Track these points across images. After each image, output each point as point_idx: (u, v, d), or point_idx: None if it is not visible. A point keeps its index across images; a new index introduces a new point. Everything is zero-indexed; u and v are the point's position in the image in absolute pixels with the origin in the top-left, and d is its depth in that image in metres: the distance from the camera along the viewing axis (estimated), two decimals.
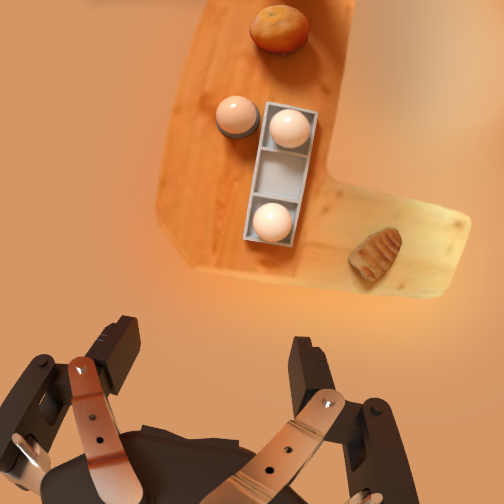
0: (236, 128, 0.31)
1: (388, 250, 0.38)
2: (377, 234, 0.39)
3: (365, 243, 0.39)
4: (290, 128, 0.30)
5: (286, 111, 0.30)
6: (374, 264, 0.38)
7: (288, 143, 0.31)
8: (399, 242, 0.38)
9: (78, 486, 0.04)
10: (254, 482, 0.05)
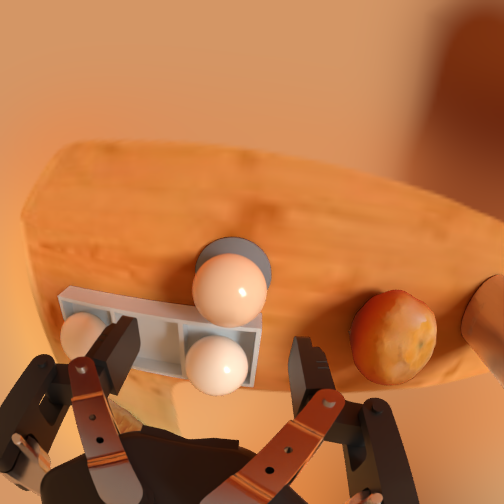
0: (197, 305, 0.18)
1: None
2: (130, 421, 0.28)
3: (116, 412, 0.28)
4: (208, 385, 0.18)
5: (239, 372, 0.19)
6: None
7: (187, 374, 0.20)
8: None
9: (78, 486, 0.04)
10: (254, 482, 0.05)
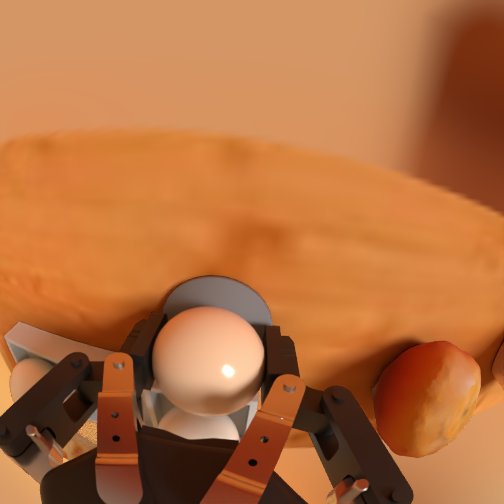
0: (159, 387, 0.10)
1: None
2: None
3: None
4: None
5: None
6: None
7: None
8: None
9: (80, 490, 0.04)
10: (254, 482, 0.05)
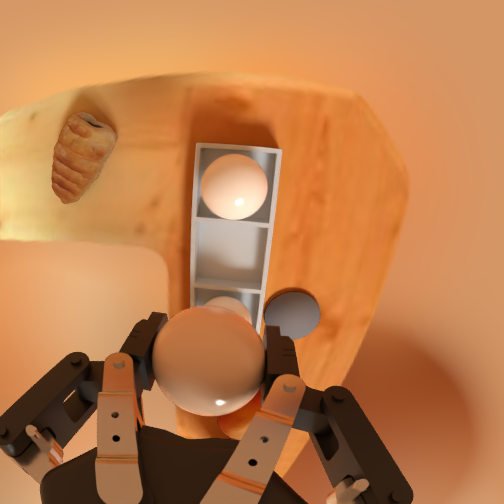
0: (159, 386, 0.10)
1: (63, 174, 0.21)
2: (86, 187, 0.23)
3: (98, 168, 0.22)
4: None
5: None
6: (73, 147, 0.20)
7: None
8: (54, 188, 0.22)
9: (80, 490, 0.04)
10: (254, 482, 0.05)
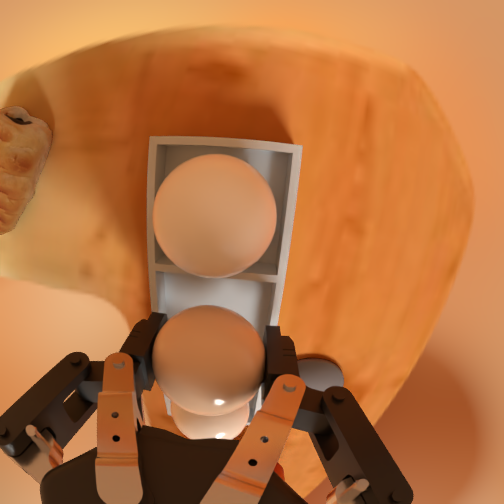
0: (159, 386, 0.10)
1: None
2: (18, 212, 0.13)
3: (28, 184, 0.13)
4: (208, 437, 0.13)
5: None
6: None
7: None
8: None
9: (80, 490, 0.04)
10: (254, 482, 0.05)
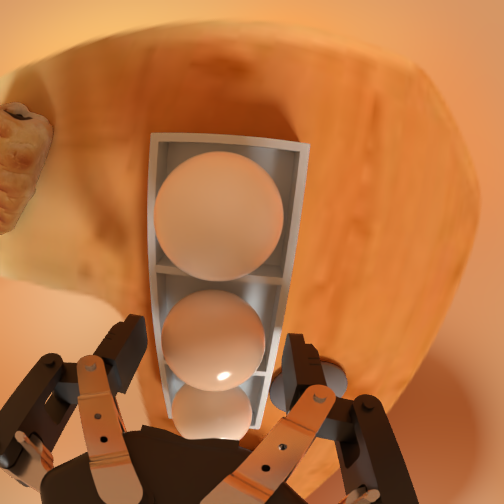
0: (167, 363, 0.12)
1: None
2: (18, 211, 0.13)
3: (28, 182, 0.12)
4: None
5: None
6: None
7: (208, 411, 0.13)
8: None
9: (79, 487, 0.04)
10: (254, 482, 0.05)
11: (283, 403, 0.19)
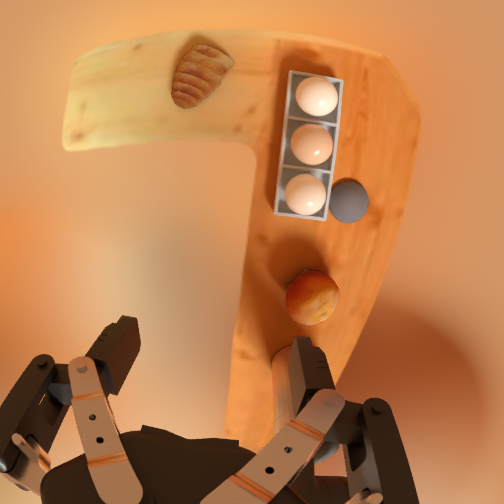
0: (297, 145, 0.29)
1: (190, 82, 0.29)
2: (207, 95, 0.31)
3: (220, 81, 0.30)
4: (310, 196, 0.31)
5: (312, 212, 0.33)
6: (204, 63, 0.27)
7: (309, 178, 0.31)
8: (175, 96, 0.30)
9: (78, 486, 0.04)
10: (254, 482, 0.05)
11: (336, 210, 0.37)
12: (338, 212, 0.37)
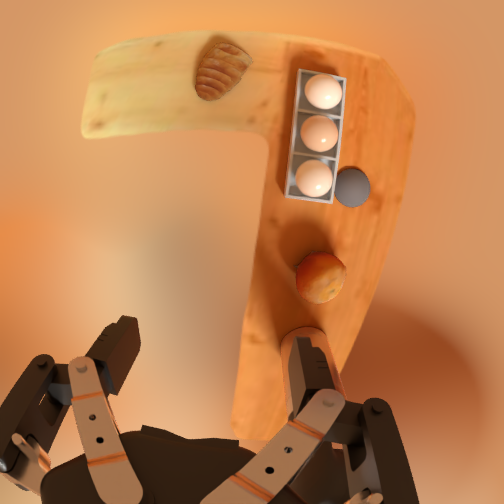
0: (307, 133, 0.32)
1: (214, 76, 0.32)
2: (229, 89, 0.34)
3: (240, 77, 0.33)
4: (319, 178, 0.33)
5: (320, 194, 0.35)
6: (227, 59, 0.30)
7: (318, 163, 0.34)
8: (200, 89, 0.33)
9: (78, 486, 0.04)
10: (254, 482, 0.05)
11: (340, 195, 0.40)
12: (343, 197, 0.40)
